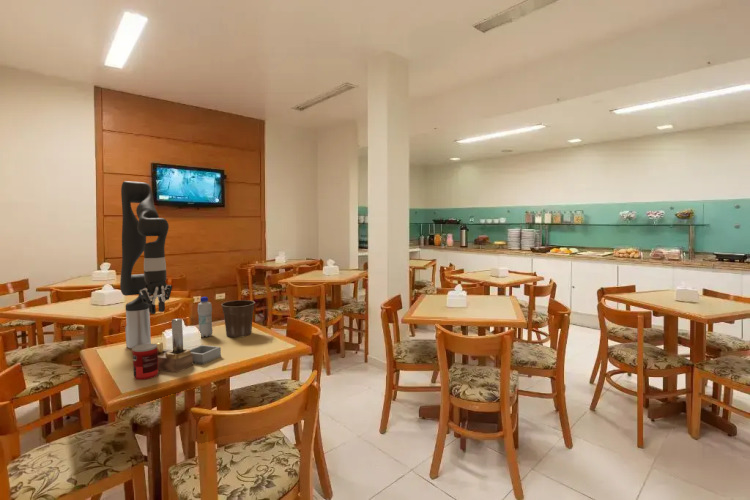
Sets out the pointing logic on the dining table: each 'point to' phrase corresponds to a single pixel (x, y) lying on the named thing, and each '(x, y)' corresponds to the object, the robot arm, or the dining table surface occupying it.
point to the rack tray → (205, 353)
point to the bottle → (205, 317)
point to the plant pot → (238, 317)
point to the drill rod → (177, 336)
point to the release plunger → (159, 348)
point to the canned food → (145, 361)
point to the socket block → (175, 360)
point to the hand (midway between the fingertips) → (157, 312)
